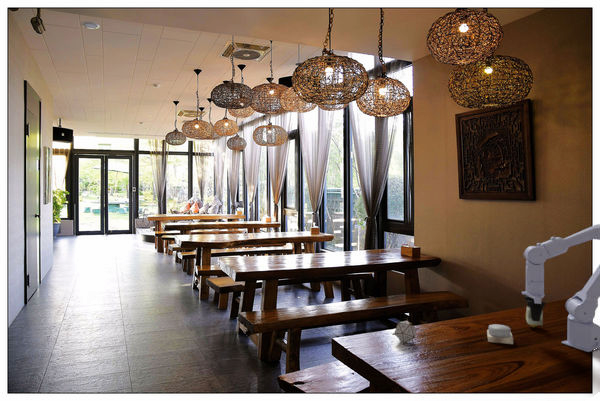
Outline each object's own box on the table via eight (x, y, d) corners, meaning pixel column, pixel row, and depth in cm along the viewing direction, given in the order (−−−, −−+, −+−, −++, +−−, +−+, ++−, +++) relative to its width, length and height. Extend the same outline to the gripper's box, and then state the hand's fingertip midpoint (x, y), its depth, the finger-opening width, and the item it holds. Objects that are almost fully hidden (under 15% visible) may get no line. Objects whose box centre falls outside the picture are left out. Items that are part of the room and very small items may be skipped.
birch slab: (510, 338, 164) (510, 331, 164) (513, 346, 156) (513, 338, 156) (487, 336, 166) (487, 329, 166) (488, 343, 159) (488, 336, 159)
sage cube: (540, 321, 159) (540, 307, 158) (542, 325, 154) (542, 311, 154) (526, 320, 160) (526, 306, 160) (528, 324, 156) (528, 310, 156)
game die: (401, 353, 159) (384, 332, 158) (406, 338, 166) (390, 317, 165) (421, 346, 154) (404, 324, 153) (426, 330, 160) (409, 309, 160)
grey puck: (508, 331, 164) (508, 325, 163) (512, 338, 157) (512, 331, 157) (487, 330, 166) (487, 323, 165) (490, 336, 159) (490, 330, 158)
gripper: (519, 275, 165) (519, 311, 165) (524, 284, 151) (524, 323, 152) (541, 276, 162) (540, 313, 163) (548, 285, 149) (548, 325, 149)
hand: (534, 318), depth 157 cm, fingers closed on sage cube, 4 cm apart
